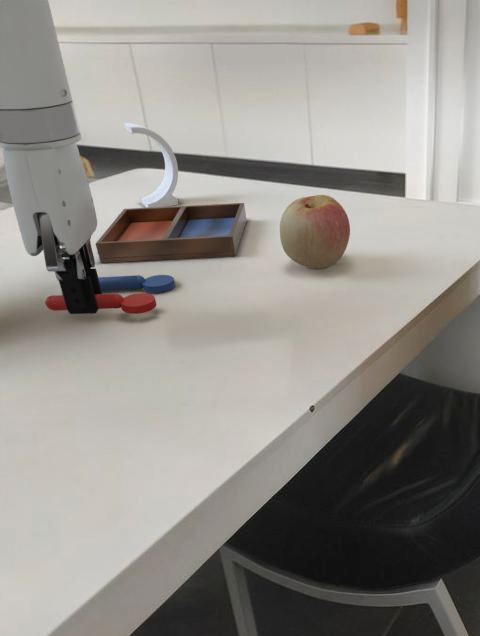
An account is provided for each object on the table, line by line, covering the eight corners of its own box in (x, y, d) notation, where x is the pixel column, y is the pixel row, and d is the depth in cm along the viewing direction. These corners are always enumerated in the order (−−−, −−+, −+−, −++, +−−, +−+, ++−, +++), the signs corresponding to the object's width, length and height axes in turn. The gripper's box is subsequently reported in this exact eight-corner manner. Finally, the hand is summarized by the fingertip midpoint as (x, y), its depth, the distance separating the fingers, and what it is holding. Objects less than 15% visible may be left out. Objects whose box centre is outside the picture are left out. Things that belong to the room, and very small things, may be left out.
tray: (100, 263, 91) (95, 243, 90) (128, 226, 104) (123, 208, 102) (235, 256, 91) (232, 236, 90) (246, 220, 104) (244, 202, 102)
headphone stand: (141, 203, 114) (123, 123, 107) (176, 197, 116) (161, 118, 109) (148, 209, 111) (130, 127, 103) (184, 203, 113) (169, 122, 106)
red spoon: (53, 303, 78) (49, 289, 77) (159, 299, 78) (156, 286, 77) (42, 317, 75) (38, 303, 74) (152, 313, 75) (149, 299, 74)
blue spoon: (80, 286, 85) (77, 273, 84) (177, 281, 85) (175, 268, 84) (71, 297, 82) (67, 284, 81) (172, 292, 82) (169, 279, 81)
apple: (342, 250, 92) (338, 187, 87) (358, 272, 85) (356, 205, 80) (278, 258, 90) (271, 194, 85) (289, 281, 83) (282, 213, 78)
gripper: (25, 112, 71) (73, 283, 82) (-39, 144, 59) (28, 340, 70) (98, 110, 71) (136, 281, 83) (49, 141, 59) (102, 338, 70)
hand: (86, 307), depth 76 cm, fingers closed on red spoon, 1 cm apart
